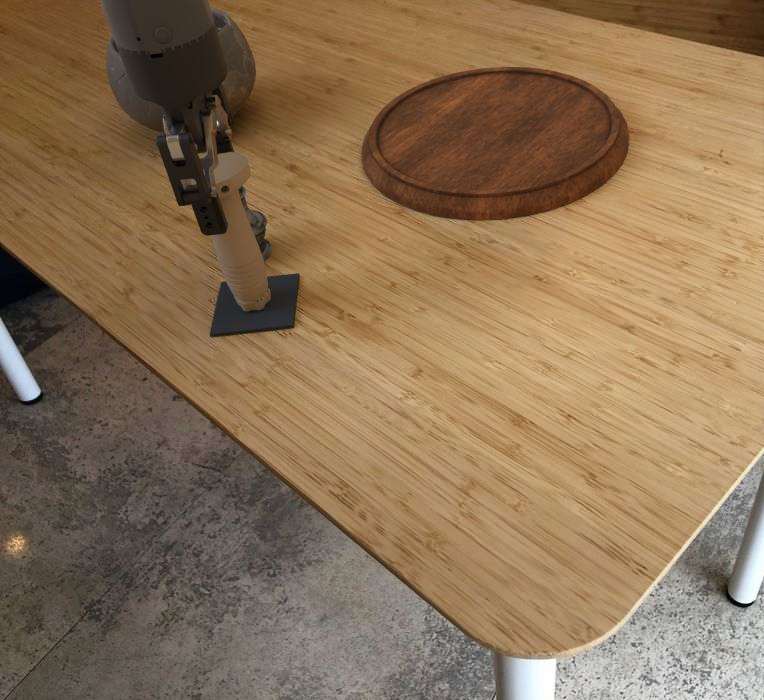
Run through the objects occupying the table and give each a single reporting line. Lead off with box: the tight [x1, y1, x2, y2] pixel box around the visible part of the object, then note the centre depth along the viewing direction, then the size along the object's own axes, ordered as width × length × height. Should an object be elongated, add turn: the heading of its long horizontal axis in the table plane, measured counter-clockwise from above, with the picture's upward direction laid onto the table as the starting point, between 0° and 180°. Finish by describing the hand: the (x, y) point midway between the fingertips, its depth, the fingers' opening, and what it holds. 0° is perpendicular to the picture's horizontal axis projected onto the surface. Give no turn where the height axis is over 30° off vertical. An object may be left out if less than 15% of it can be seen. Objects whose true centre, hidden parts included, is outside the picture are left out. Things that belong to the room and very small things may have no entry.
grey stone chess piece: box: [238, 185, 273, 262], centre depth 86 cm, size 6×6×12 cm
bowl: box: [105, 6, 257, 133], centre depth 108 cm, size 18×18×13 cm
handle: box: [191, 151, 271, 312], centre depth 78 cm, size 5×6×15 cm
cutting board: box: [361, 66, 630, 221], centre depth 101 cm, size 32×32×2 cm
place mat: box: [209, 272, 301, 338], centre depth 83 cm, size 8×8×1 cm
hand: (222, 204), depth 75 cm, fingers open, 8 cm apart
